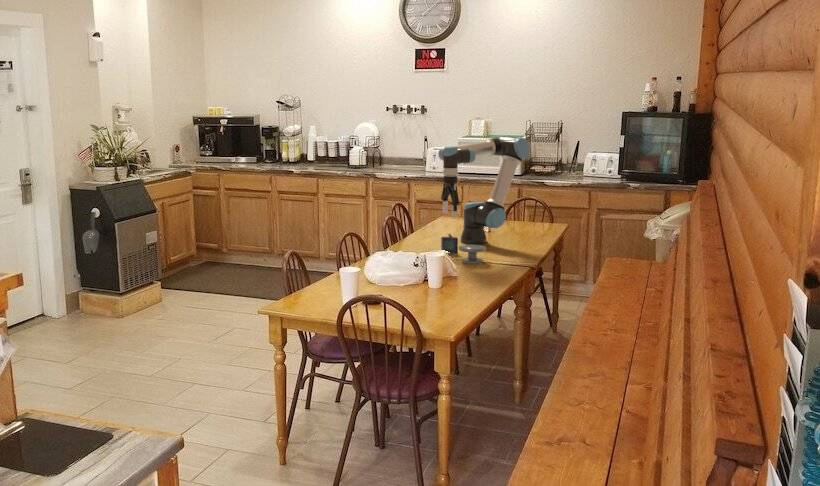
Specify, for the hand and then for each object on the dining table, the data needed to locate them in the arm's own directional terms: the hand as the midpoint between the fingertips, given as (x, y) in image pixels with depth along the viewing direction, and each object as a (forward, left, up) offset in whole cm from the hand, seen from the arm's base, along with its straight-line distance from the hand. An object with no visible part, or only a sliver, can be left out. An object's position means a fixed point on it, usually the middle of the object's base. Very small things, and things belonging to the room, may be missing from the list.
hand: (449, 215), depth 396 cm
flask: (0, 0, -21) cm, 21 cm away
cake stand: (-4, +22, -21) cm, 31 cm away
